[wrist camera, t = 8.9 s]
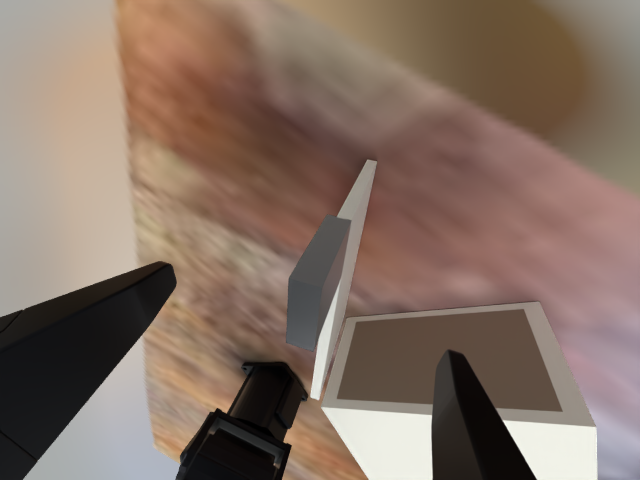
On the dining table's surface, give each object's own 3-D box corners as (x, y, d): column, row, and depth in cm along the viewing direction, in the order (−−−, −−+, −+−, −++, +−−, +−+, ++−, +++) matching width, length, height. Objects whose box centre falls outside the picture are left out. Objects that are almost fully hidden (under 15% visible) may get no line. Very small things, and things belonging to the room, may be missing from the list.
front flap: (344, 316, 25) (297, 469, 16) (333, 313, 25) (281, 462, 16) (377, 161, 17) (322, 287, 8) (360, 158, 17) (288, 278, 8)
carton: (385, 393, 30) (373, 487, 23) (347, 317, 25) (320, 406, 19) (551, 401, 24) (598, 531, 17) (539, 301, 19) (596, 426, 13)
